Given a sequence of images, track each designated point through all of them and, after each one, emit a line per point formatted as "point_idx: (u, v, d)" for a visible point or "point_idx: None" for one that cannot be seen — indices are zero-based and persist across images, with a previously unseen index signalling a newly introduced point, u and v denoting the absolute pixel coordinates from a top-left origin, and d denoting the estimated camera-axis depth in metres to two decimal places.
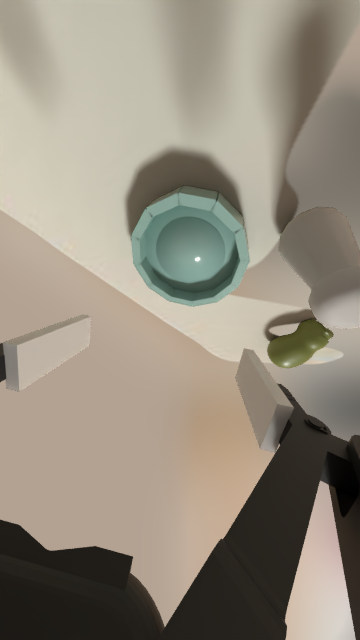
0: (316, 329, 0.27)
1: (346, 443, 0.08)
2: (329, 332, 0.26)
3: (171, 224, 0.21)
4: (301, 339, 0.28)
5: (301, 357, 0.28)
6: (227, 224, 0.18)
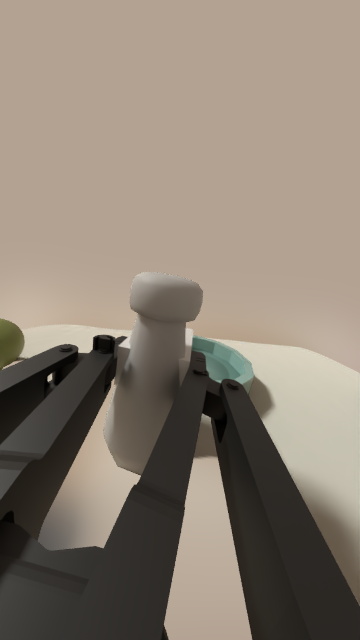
0: None
1: (219, 387, 0.10)
2: None
3: (227, 372, 0.25)
4: None
5: None
6: None
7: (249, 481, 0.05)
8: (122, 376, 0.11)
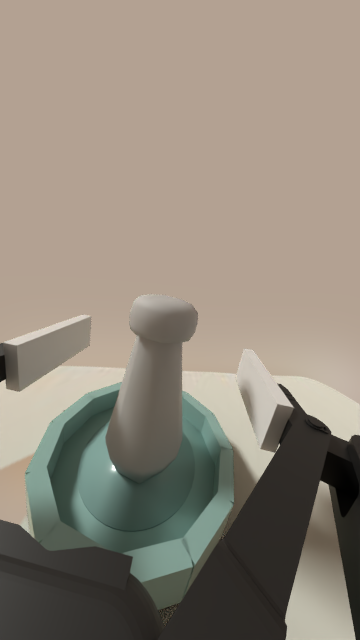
0: None
1: (346, 443, 0.08)
2: None
3: (192, 467, 0.15)
4: None
5: None
6: (142, 552, 0.09)
7: None
8: (122, 389, 0.12)
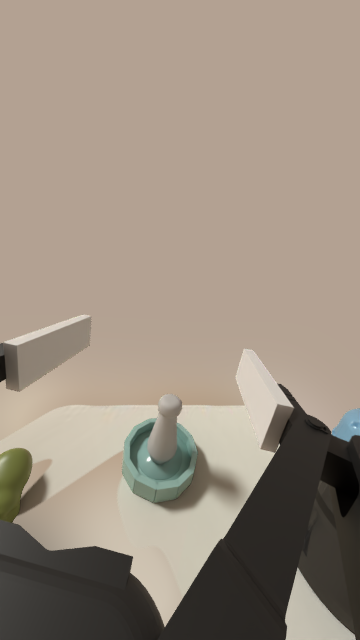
0: (6, 517, 0.24)
1: (346, 443, 0.08)
2: None
3: (181, 459, 0.36)
4: (16, 491, 0.25)
5: (2, 474, 0.26)
6: (164, 482, 0.30)
7: None
8: (154, 430, 0.34)
